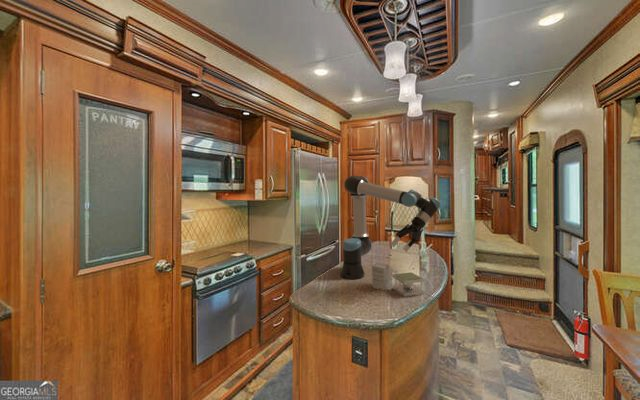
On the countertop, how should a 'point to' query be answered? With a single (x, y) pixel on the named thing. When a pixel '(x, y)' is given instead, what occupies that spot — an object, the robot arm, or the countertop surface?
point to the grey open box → (408, 284)
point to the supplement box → (380, 276)
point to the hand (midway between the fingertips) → (398, 247)
